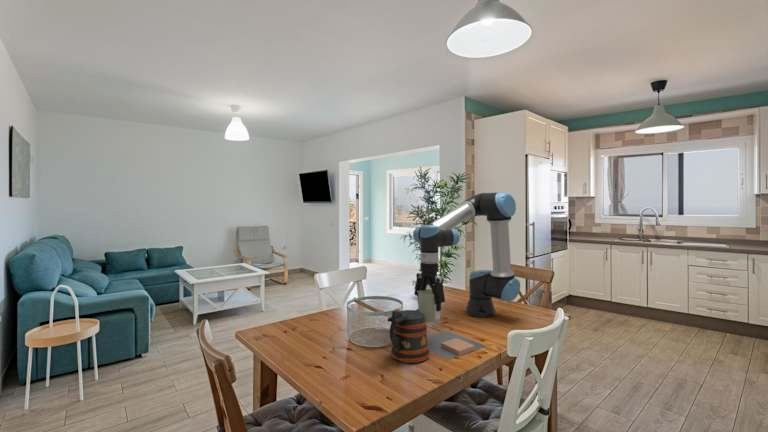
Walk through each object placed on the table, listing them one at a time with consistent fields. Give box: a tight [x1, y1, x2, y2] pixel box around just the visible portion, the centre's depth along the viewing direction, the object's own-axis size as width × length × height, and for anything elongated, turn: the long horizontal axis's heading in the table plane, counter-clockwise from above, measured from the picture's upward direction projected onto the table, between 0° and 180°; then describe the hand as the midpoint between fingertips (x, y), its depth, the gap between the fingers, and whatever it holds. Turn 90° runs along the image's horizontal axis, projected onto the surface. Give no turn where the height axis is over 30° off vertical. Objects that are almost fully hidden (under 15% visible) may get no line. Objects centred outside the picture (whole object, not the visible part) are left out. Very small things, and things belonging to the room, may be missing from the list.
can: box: [417, 289, 441, 323], centre depth 151 cm, size 9×9×12 cm
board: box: [427, 330, 487, 361], centre depth 149 cm, size 22×22×1 cm
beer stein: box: [387, 308, 430, 364], centre depth 138 cm, size 19×15×20 cm
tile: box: [441, 338, 476, 357], centre depth 144 cm, size 2×10×9 cm
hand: (428, 315), depth 151 cm, fingers closed on can, 9 cm apart
